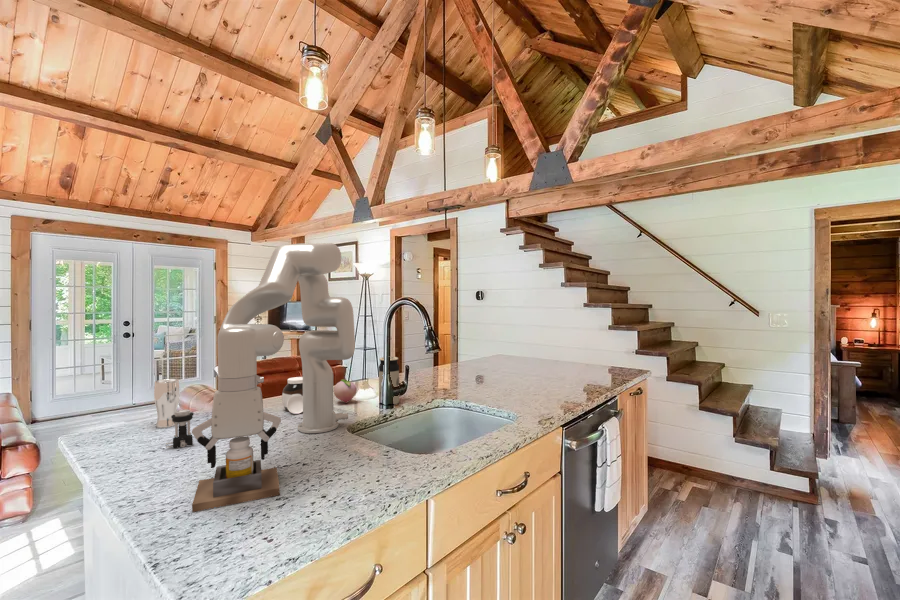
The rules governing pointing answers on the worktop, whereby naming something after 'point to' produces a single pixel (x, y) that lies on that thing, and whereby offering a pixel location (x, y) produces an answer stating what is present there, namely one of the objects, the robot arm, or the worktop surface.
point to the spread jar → (293, 395)
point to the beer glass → (166, 401)
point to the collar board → (236, 488)
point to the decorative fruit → (345, 390)
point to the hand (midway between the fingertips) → (238, 461)
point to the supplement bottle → (239, 458)
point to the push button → (182, 429)
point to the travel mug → (393, 372)
